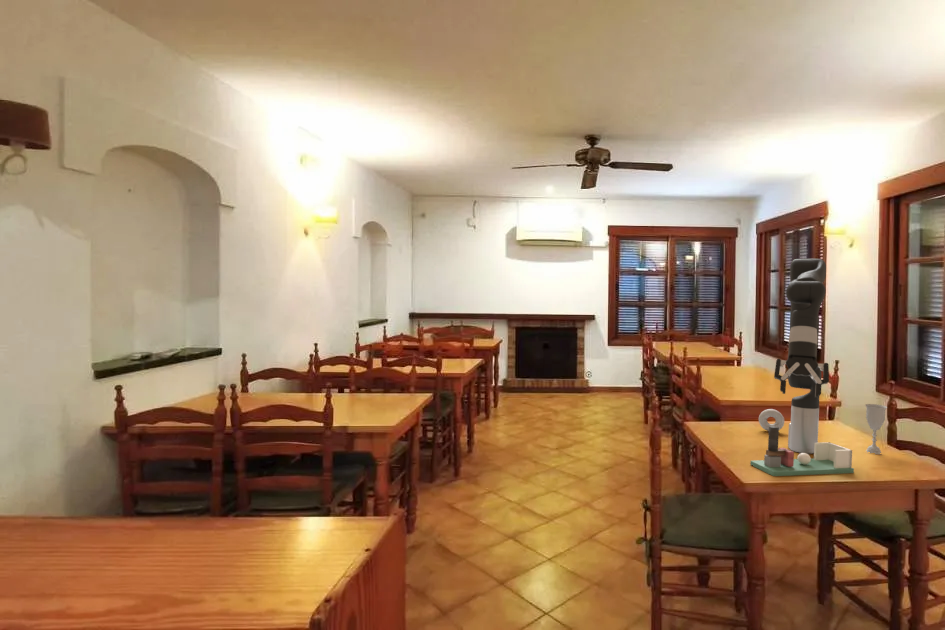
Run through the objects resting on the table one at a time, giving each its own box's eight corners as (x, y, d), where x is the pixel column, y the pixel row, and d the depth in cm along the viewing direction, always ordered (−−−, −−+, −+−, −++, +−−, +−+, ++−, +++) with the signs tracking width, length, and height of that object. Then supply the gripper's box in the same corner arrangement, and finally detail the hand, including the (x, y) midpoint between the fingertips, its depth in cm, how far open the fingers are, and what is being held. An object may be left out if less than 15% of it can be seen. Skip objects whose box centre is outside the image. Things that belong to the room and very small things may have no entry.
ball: (794, 462, 197) (794, 451, 197) (804, 462, 198) (805, 451, 197) (802, 466, 193) (803, 454, 193) (813, 466, 194) (813, 454, 193)
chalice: (888, 455, 212) (891, 408, 211) (868, 454, 214) (870, 407, 213) (878, 450, 219) (881, 404, 218) (859, 449, 221) (861, 403, 220)
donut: (757, 430, 247) (758, 408, 247) (758, 429, 250) (759, 406, 250) (783, 434, 242) (784, 411, 242) (784, 432, 245) (785, 409, 245)
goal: (813, 459, 201) (814, 442, 201) (828, 458, 202) (829, 442, 202) (835, 468, 192) (836, 450, 191) (851, 467, 192) (852, 450, 192)
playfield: (750, 464, 199) (750, 451, 199) (826, 462, 203) (827, 448, 203) (773, 476, 187) (773, 461, 187) (853, 472, 192) (854, 458, 191)
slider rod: (762, 462, 196) (763, 425, 195) (783, 461, 197) (784, 425, 196) (771, 467, 191) (773, 429, 190) (793, 466, 192) (794, 428, 191)
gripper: (828, 348, 173) (826, 400, 170) (776, 344, 180) (772, 394, 176) (831, 342, 167) (829, 396, 163) (777, 338, 173) (773, 390, 170)
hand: (799, 395), depth 170 cm, fingers open, 8 cm apart
